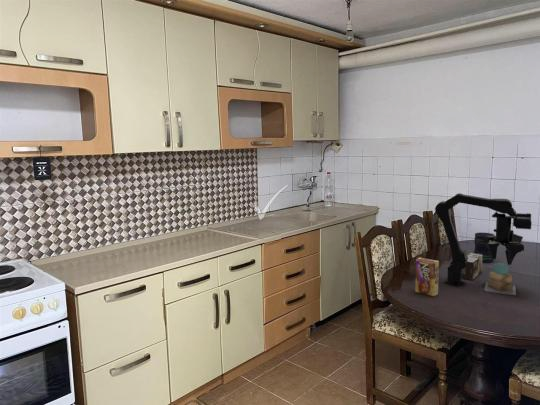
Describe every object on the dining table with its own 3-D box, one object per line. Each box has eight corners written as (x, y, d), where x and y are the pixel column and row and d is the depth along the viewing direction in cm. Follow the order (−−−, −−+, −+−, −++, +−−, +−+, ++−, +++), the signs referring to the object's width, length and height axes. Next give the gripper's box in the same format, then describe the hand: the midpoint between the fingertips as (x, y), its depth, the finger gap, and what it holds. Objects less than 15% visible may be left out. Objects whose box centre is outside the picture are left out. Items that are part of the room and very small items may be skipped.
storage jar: (489, 258, 230) (490, 232, 228) (496, 263, 220) (498, 236, 218) (470, 258, 231) (471, 232, 229) (477, 263, 222) (478, 236, 219)
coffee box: (469, 252, 210) (459, 259, 198) (482, 254, 206) (473, 262, 194) (468, 269, 212) (458, 277, 200) (482, 272, 207) (472, 280, 195)
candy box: (438, 293, 180) (439, 260, 178) (434, 296, 177) (435, 262, 175) (419, 289, 186) (419, 257, 184) (414, 291, 183) (415, 259, 181)
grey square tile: (515, 295, 175) (515, 294, 175) (484, 291, 181) (484, 290, 181) (515, 286, 186) (515, 285, 186) (485, 282, 192) (485, 282, 192)
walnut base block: (498, 291, 180) (499, 283, 179) (487, 286, 186) (488, 278, 186) (512, 290, 181) (513, 282, 180) (501, 284, 187) (501, 277, 187)
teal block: (500, 274, 180) (500, 266, 180) (493, 272, 184) (494, 263, 183) (508, 274, 181) (508, 265, 180) (501, 271, 185) (502, 262, 184)
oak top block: (499, 283, 180) (499, 275, 179) (489, 279, 185) (490, 271, 185) (511, 282, 181) (511, 274, 180) (501, 277, 186) (502, 270, 186)
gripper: (536, 230, 172) (534, 266, 174) (504, 222, 190) (502, 255, 192) (513, 232, 170) (511, 268, 172) (482, 224, 188) (481, 256, 190)
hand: (501, 261), depth 182 cm, fingers open, 9 cm apart
